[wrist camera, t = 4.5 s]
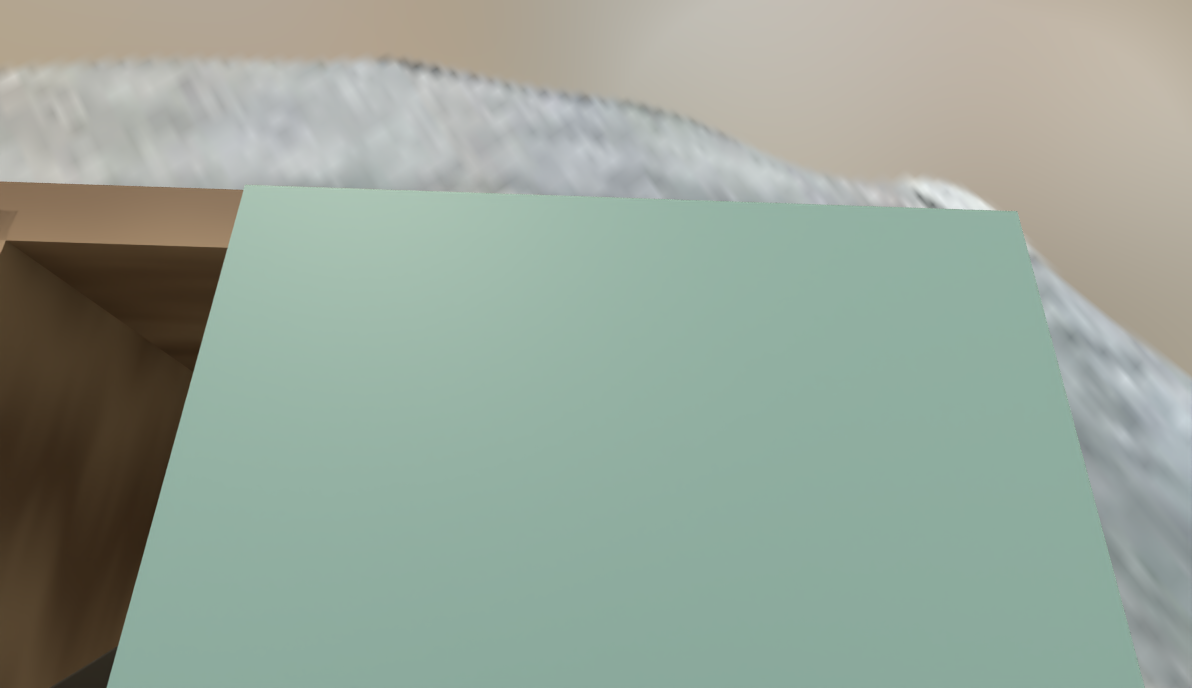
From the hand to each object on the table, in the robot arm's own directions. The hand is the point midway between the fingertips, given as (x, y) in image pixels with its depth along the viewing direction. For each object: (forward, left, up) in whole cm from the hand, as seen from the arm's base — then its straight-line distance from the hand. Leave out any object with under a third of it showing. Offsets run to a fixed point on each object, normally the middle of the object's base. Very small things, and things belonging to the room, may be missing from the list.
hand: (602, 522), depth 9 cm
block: (-1, 0, -7) cm, 7 cm away
